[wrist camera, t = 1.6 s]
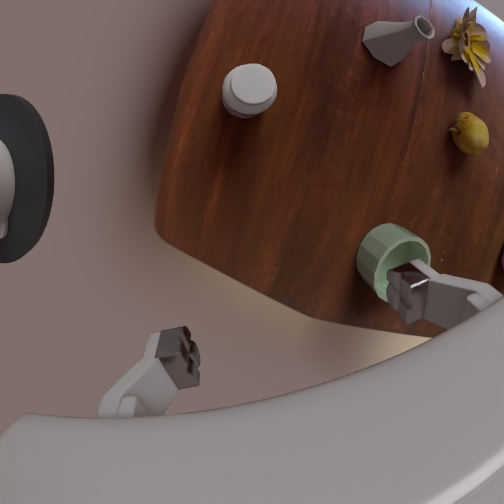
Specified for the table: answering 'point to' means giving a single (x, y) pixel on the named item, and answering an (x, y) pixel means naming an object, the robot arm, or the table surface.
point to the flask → (395, 38)
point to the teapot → (503, 259)
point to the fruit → (470, 134)
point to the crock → (388, 254)
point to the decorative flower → (469, 44)
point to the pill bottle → (248, 90)
